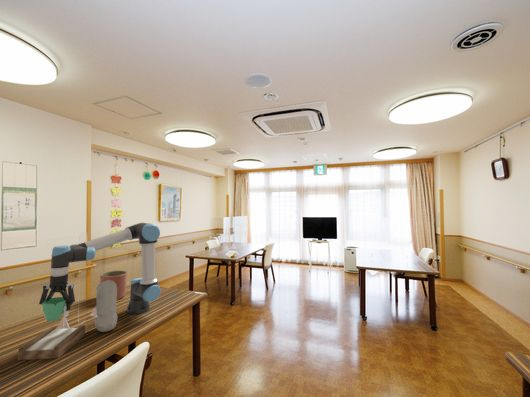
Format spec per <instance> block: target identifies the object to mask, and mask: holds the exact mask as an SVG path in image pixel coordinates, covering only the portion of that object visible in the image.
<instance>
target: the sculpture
mask: <svg viewBox="0 0 530 397" xmlns="http://www.w3.org/2000/svg"><path fill="white" fill-rule="evenodd" d="M95 297H96V299H95V300H96V303H95V304H96V306H95V308H96V315H97V316H96V317H95V320H94V326H95V329H96V330H97V331H98V332H100V333H107V332H109V331H112V330H113V329H115V328H116V326H117V323H118V314H117V306H118V305H117V301H118V300H117V285H116V283H115V282H114V281H112V280H106V281H104V282H102V283H100V282H99V283H98V284H97V286H96V296H95Z"/></svg>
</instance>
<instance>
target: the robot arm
mask: <svg viewBox="0 0 530 397" xmlns="http://www.w3.org/2000/svg"><path fill="white" fill-rule="evenodd" d="M160 236H161V230H160V227H159V226H158V225H156V224H153V223H147V222H139V223H135V224H133V225H131V226H127V227H124V229H122V230H119V231H115V232H112V233H109V234H106V235H103V236H100V237H98V238H94V239H90V240H88V241H84V242H81V243H78V244H71V245H57V246H54V247H52V252H51V254H50V255H51V260H50V261H51V263H50V273H49V274H50V277H49V284H45V285H43V286H42V292H41V296H40V300H39V303H38V304H39V305H42V302H43V301H45V300H47V302H48V301H49V300H50V299H51V298H54V297H53V296H54V295H55V293H59V294H61V297H63V299H64V300H66V302H65V305H64V309H63V310H64V314H63V319H64V318H67V317H69V314H70V313H69V312H70V310H71V306H72V305H73V304H74V303H75V302H76V299H75V293H74V286H75V285H74V283H72V284H69V283H68V279H69V268H70V267H69V265H70V263H76V262H78V263H79V262H86V261H87V262H88V261H92V260H94V259H95V257H96V251H99V250H103V249H105V248H109V247H111V246H115V245H116V244H119V243H122V242H125V241H128V240H129V241H132V240H138V244H139V245H140V246H141V277H138V278H137V277H136V278H133V279H132V280H131V281H130V282H131V283H130V294H129V296H130V297H129V302H128V305H127V308H126V313H127V314H129V315H139V314H144V313H146V312H148V311H149V310H150V309H151V308H150V307H151V304H150V302H154V301H156V300H157V299H158V298H159V297H160V295H161V293H162V288H161V287H160V285H159V280H158V278H157V277H156V244H157V243H158V239H159V237H160ZM49 289H50V290H49ZM71 304H72V305H71ZM43 315H44V316H43V317H44V318H43V319H46V317H45V314H44V313H43Z"/></svg>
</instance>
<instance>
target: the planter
mask: <svg viewBox="0 0 530 397" xmlns="http://www.w3.org/2000/svg"><path fill="white" fill-rule="evenodd" d="M99 276H100V277H99V283H102V282H104V281H106V280H112V281H114V282H115V283H116V285H117V301H119V300H120V299H121V298H123V297H125V296H126V289H127V281H128V271H126V270H118V269H117V270H110V271H109V270H108V271H105V272H102V273H100V275H99Z"/></svg>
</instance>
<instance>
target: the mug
mask: <svg viewBox="0 0 530 397" xmlns="http://www.w3.org/2000/svg"><path fill="white" fill-rule="evenodd" d="M65 302H66V300H64V299H63V297H62V296H60V297H59V296H57V297H56V296H55V297H52V298H51V299H50V300H49V301H48V302H47V300H45V301H43V302H42V304H41V305H42V311H43V315H44V314H45V317H46V318H45V319H46V321H47V322H50V323H51V322H55V321H58V320H60V318H61V316H62V315H64V305H66V303H65ZM72 305H73V303H72V304H71V306H72Z"/></svg>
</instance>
